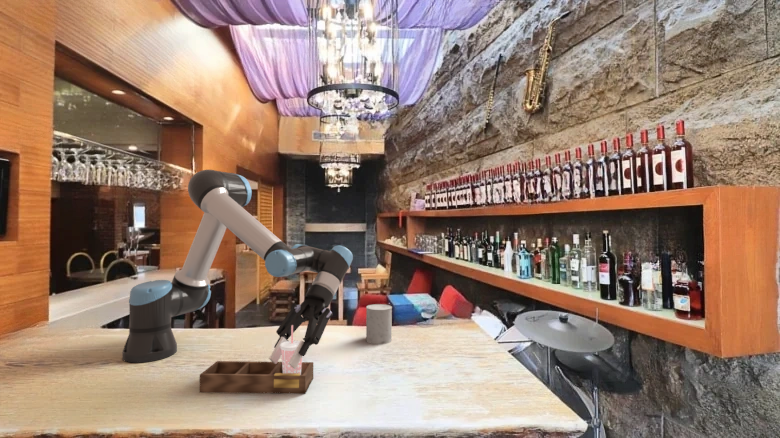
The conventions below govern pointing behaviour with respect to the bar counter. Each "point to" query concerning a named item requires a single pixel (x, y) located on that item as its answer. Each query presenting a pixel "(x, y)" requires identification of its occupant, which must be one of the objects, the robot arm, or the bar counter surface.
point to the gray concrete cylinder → (379, 324)
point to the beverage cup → (289, 355)
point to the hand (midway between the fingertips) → (282, 363)
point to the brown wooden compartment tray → (255, 378)
